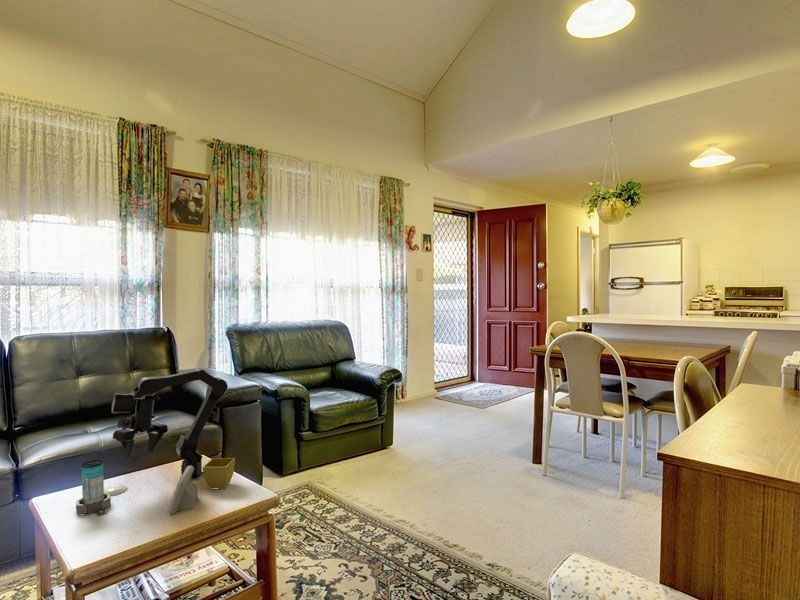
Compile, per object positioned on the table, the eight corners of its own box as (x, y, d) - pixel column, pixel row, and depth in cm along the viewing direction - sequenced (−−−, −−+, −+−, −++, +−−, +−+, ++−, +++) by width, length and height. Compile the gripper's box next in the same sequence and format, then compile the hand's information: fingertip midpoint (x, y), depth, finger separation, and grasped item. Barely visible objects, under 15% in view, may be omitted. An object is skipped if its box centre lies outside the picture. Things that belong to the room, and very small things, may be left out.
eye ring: (124, 502, 160) (124, 493, 160) (102, 516, 151) (101, 507, 150) (86, 500, 163) (85, 491, 162) (61, 513, 153) (61, 504, 153)
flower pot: (226, 491, 168) (226, 466, 168) (202, 491, 168) (201, 466, 168) (236, 481, 177) (235, 457, 176) (212, 481, 177) (212, 458, 177)
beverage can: (100, 502, 161) (99, 458, 160) (107, 507, 157) (105, 462, 157) (80, 508, 156) (79, 463, 156) (86, 514, 152) (85, 468, 152)
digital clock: (180, 494, 166) (179, 464, 166) (205, 493, 166) (205, 463, 166) (157, 516, 150) (156, 483, 150) (186, 515, 150) (185, 482, 150)
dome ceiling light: (132, 486, 174) (132, 484, 174) (114, 497, 165) (114, 495, 165) (110, 485, 175) (110, 483, 175) (91, 495, 166) (91, 493, 166)
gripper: (149, 406, 184) (144, 446, 183) (104, 412, 167) (98, 457, 166) (171, 410, 180) (166, 451, 179) (127, 417, 163) (121, 463, 162)
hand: (138, 455), depth 172 cm, fingers open, 9 cm apart
